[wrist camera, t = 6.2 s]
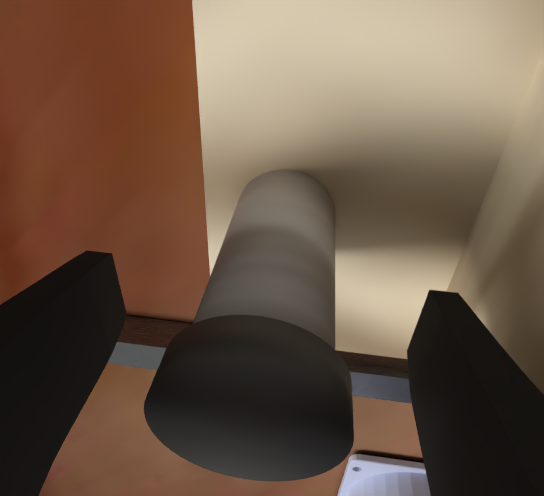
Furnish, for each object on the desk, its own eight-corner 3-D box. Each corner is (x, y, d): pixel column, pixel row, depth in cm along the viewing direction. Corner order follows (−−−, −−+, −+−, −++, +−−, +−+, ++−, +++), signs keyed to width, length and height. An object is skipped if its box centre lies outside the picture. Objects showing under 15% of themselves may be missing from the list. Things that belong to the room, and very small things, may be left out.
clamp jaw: (489, 345, 17) (589, 608, 10) (220, 313, 17) (152, 537, 11) (680, -1, 9) (1480, 141, 3) (204, -29, 10) (-32, 31, 4)
